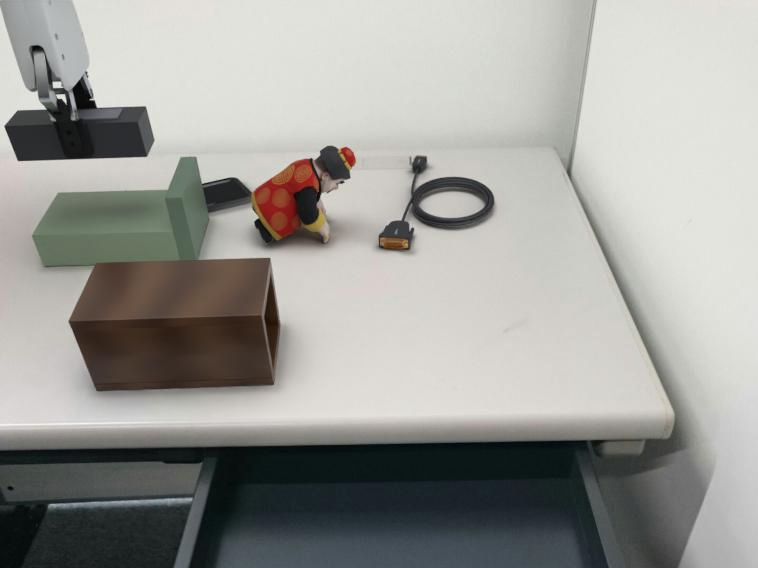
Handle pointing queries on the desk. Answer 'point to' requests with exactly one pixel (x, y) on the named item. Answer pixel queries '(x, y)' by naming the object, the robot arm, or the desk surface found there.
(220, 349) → the shelf
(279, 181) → the figurine
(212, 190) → the phone
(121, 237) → the green l-shaped block
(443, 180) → the cable
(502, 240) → the desk surface
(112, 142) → the black rectangular box
